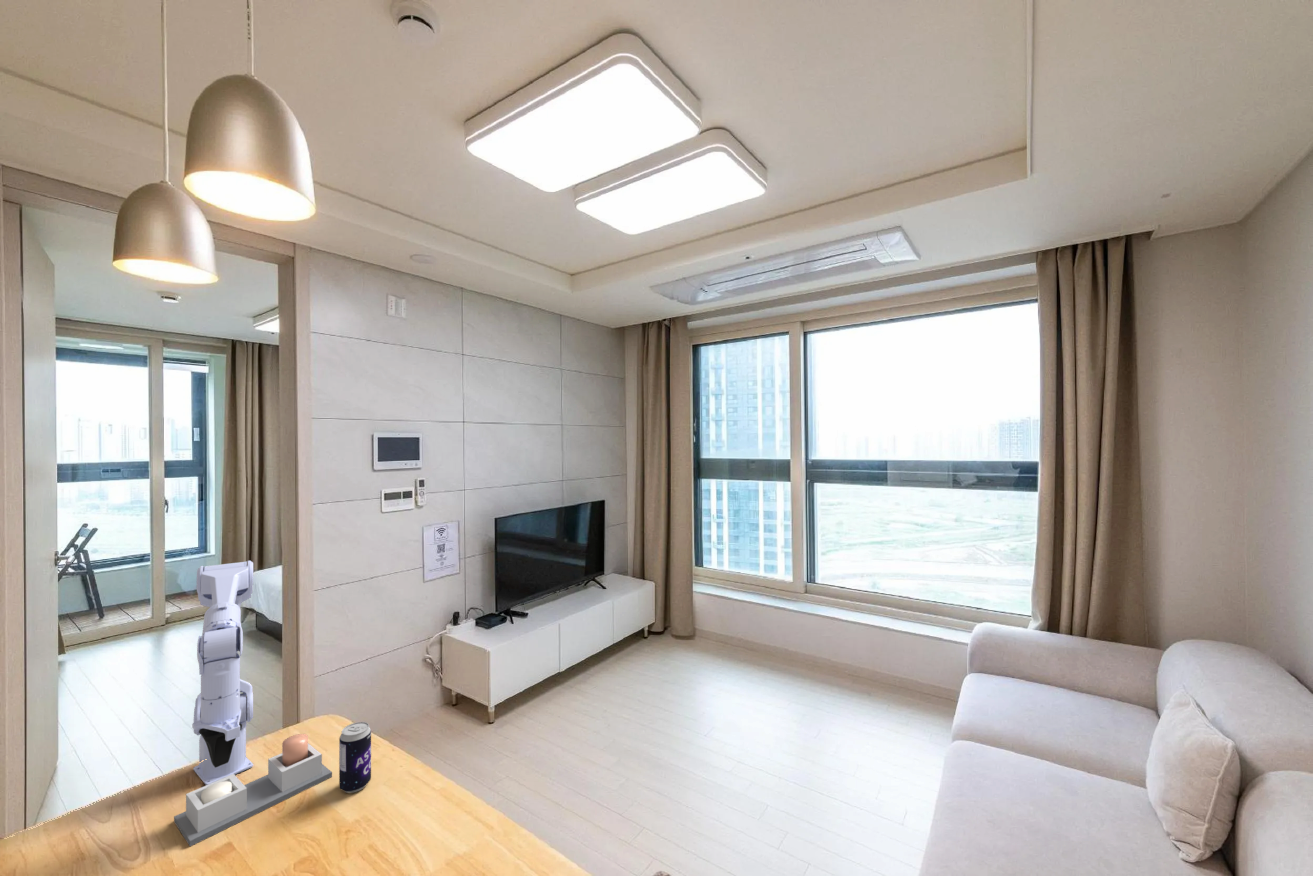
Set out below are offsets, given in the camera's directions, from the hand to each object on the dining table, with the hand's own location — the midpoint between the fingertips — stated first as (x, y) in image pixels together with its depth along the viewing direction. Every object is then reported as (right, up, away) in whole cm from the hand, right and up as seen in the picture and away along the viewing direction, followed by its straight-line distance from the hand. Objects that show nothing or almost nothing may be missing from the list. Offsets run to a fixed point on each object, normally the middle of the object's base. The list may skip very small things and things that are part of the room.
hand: (220, 763), depth 99 cm
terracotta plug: (+7, -6, +10) cm, 14 cm away
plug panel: (+3, -10, +5) cm, 12 cm away
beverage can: (+21, -10, +9) cm, 25 cm away
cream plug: (0, -9, 0) cm, 9 cm away
